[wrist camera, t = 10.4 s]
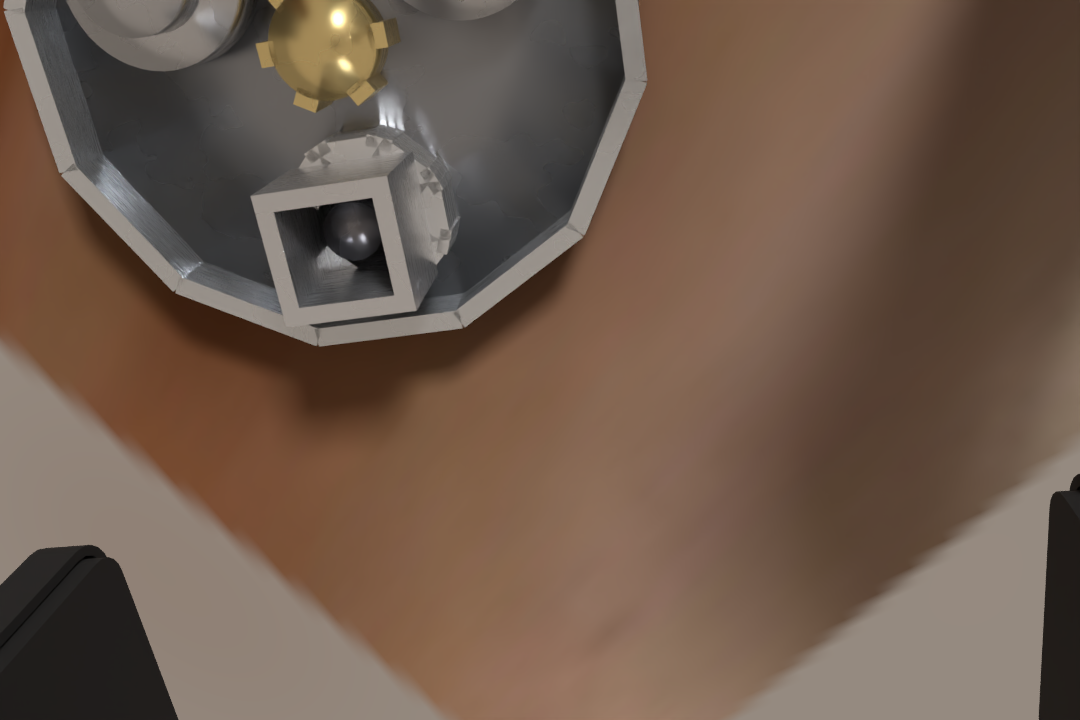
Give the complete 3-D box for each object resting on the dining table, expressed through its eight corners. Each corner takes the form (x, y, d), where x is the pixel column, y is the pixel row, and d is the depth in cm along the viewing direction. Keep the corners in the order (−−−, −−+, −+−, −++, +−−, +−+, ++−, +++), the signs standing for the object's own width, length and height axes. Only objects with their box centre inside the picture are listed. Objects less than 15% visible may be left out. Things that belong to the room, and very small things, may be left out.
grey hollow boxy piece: (440, 114, 36) (406, 146, 30) (471, 274, 38) (445, 330, 32) (281, 139, 36) (219, 174, 31) (320, 293, 38) (269, 352, 33)
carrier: (594, -373, 31) (589, -426, 26) (671, 275, 38) (677, 318, 34) (-26, -236, 33) (-125, -264, 29) (162, 341, 41) (106, 389, 37)
